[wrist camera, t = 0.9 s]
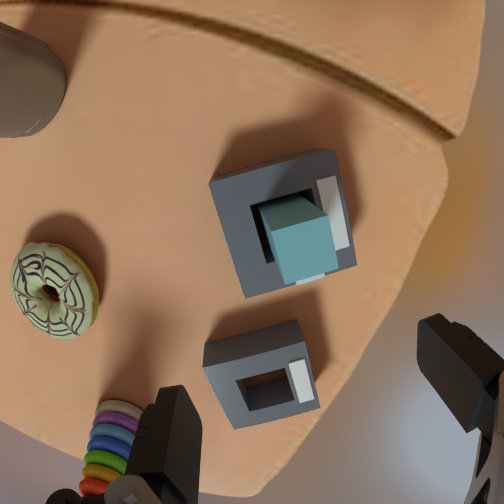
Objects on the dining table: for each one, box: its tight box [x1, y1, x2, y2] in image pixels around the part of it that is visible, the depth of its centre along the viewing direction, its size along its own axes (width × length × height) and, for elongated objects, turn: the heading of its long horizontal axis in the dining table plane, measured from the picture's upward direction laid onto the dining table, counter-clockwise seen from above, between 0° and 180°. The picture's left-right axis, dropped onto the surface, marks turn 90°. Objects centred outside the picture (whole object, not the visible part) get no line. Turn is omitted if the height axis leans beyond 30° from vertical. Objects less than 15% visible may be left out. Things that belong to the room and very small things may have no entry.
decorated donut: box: [10, 242, 99, 339], centre depth 28 cm, size 10×11×4 cm
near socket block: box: [209, 149, 357, 299], centre depth 27 cm, size 10×10×4 cm
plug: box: [257, 192, 339, 285], centre depth 24 cm, size 4×4×10 cm
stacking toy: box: [79, 400, 143, 497], centre depth 27 cm, size 8×8×19 cm
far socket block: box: [203, 319, 320, 429], centre depth 32 cm, size 10×10×4 cm
